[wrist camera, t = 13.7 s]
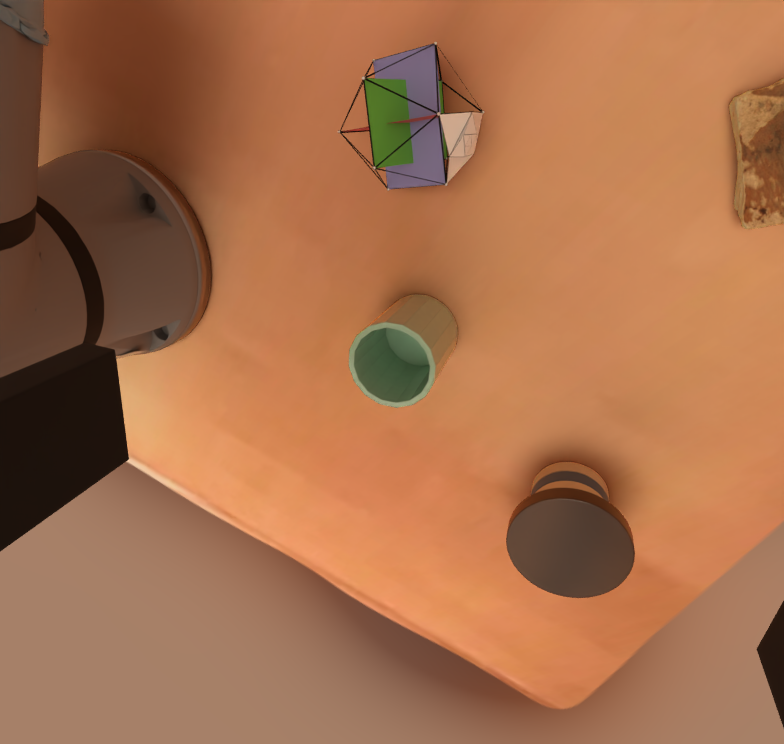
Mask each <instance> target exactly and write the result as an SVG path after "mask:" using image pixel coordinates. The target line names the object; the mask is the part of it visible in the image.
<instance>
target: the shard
mask: <svg viewBox="0 0 784 744" xmlns="http://www.w3.org/2000/svg"><path fill="white" fill-rule="evenodd" d="M729 112H730V115H731V122H732V128H733V134H734V137H735V142H736V150H737V161H738V174H737V182H736V186H735V197H734V209H735V210H737V211H738V216H739V217H740V220H741V225H742V227H743V228H745V229H755V228H762V227H767V226H769V225H778V224H784V78H783V79H780V80H779V81H778V82H776V83H775V84H773V85H771V86H768V87H764V88H760V89H756V90H750V91H747V92H745V93H743V94H741V95H737V96H736V97H734V98H733V100H732V102H731V103H730V104H729Z"/></svg>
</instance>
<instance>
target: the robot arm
mask: <svg viewBox="0 0 784 744" xmlns="http://www.w3.org/2000/svg"><path fill="white" fill-rule="evenodd" d="M48 44H49V35H48V33H47V31H46V30H45V29H44V0H0V551H1V550H3V549H4V548H6V547H7V546H8V545H10V544H11V543H13V542H14V541H15V540H17V539H18V538H20V537H21V536H22V535H24V534H25V533H27V532H28V531H29V530H31V529H32V528H34V527H35V526H36V525H38V524H39V523H41V522H42V521H43V520H45V519H46V518H47V517H49V516H50V515H52V514H53V513H54V512H56V511H57V510H59V509H60V508H62V507H63V506H64V505H66V504H67V503H68V502H70V501H71V500H73V499H74V498H75V497H77V496H78V495H80V494H81V493H82V492H84V491H85V490H87V489H88V488H89V487H91V486H92V485H94V484H95V483H96V482H98V481H99V480H100V479H102V478H103V477H105V476H106V475H108V474H109V473H110V472H112V471H113V470H115V469H116V468H117V467H119V466H120V465H122V464H123V463H124V462H126V461H127V460H129V457H128V449H127V441H126V433H125V425H124V417H123V409H122V401H121V393H120V385H119V377H118V370H117V362H116V358H123V357H127V356H130V355H138V354H145V353H149V352H154V351H158V350H161V349H163V348H165V347H167V346H169V345H171V344H173V343H175V342H177V341H179V340H181V339H182V338H184V337H185V336H187V335H188V334H189V333H190V332H191V331H192V330H193V329H194V328H195V327H196V325H197V324H198V322H199V321H200V319H201V317H202V315H203V313H204V311H205V308H206V305H207V302H208V298H209V292H210V283H211V269H210V260H209V254H208V249H207V245H206V242H205V238H204V236H203V233H202V230H201V227H200V225H199V223H198V221H197V218H196V217H195V215H194V213H193V211H192V209H191V208H190V206H189V204H188V203H187V201H186V200H185V198H184V197H183V196H182V194H181V193H180V192H179V190H178V189H177V188H176V187H175V186H174V185H173V184H172V182H171V181H169V180H168V179H167V178H166V177H165V176H164V175H163V174H162V173H161V172H159V171H158V170H157V169H156V168H154V167H153V166H151V165H150V164H148V163H147V162H145V161H143V160H141V159H140V158H138V157H135V156H133V155H130V154H127V153H124V152H120V151H114V150H85V151H78V152H74V153H71V154H67V155H64V156H61V157H59V158H57V159H55V160H53V161H51V162H49V163H47V164H45V165H43V166H41V167H39V168H38V152H39V131H40V109H41V87H42V66H43V45H46V46H48ZM116 356H117V357H116ZM757 651H758V654H759V657H760V660H761V663H762V666H763V669H764V672H765V675H766V678H767V681H768V683H769V686H770V689H771V692H772V695H773V698H774V701H775V704H776V707H777V710H778V712H779V715H780V718H781V721H782V724H783V727H784V601H783V603H782V605H781V606H780V608H779V610H778V612H777V614H776V615H775V617H774V619H773V621H772V623H771V624H770V626H769V628H768V630H767V631H766V634H765V635H764V637H763V639H762V640H761V642H760V644H759V646H758V648H757Z"/></svg>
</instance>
